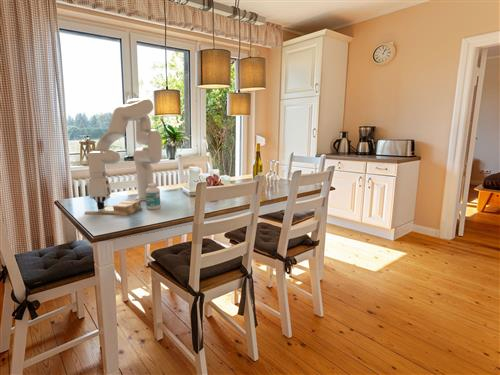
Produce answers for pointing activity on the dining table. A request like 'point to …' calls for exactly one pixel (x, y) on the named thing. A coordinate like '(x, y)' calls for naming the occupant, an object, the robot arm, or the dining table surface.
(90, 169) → the robot arm
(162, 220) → the dining table surface
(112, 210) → the cover
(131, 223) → the dining table surface
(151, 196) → the pill bottle
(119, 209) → the overhang cubby
